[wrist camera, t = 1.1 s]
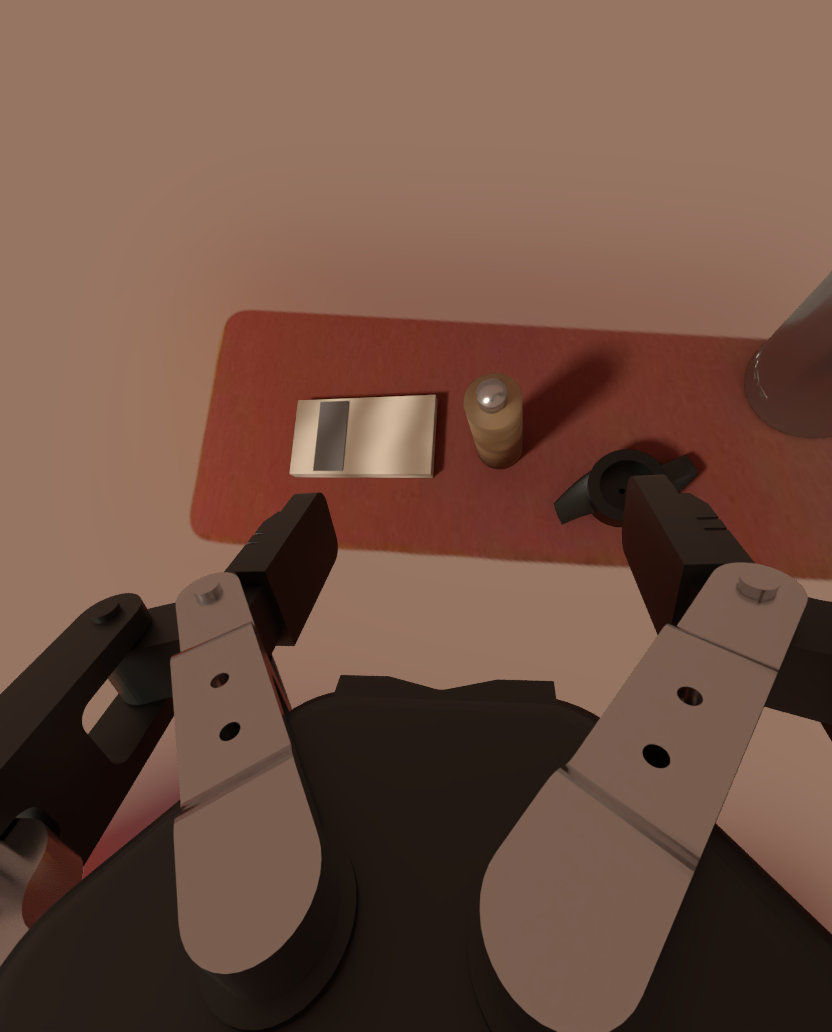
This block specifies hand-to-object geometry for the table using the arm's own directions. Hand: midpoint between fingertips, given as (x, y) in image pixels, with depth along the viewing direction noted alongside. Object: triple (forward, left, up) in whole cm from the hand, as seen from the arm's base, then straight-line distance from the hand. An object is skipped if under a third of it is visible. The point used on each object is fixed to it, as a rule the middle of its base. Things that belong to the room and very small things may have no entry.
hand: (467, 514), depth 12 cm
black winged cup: (-9, -7, -28) cm, 30 cm away
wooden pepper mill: (+1, -11, -27) cm, 30 cm away
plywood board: (+14, -12, -27) cm, 33 cm away
